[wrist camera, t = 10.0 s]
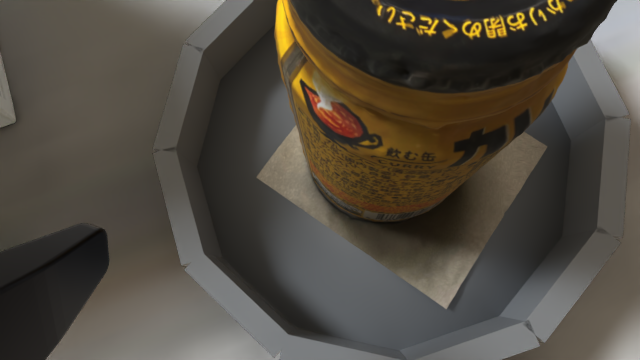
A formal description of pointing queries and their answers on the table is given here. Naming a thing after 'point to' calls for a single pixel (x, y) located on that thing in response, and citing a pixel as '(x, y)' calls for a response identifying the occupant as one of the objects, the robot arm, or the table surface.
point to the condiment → (419, 120)
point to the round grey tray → (346, 259)
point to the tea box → (5, 99)
